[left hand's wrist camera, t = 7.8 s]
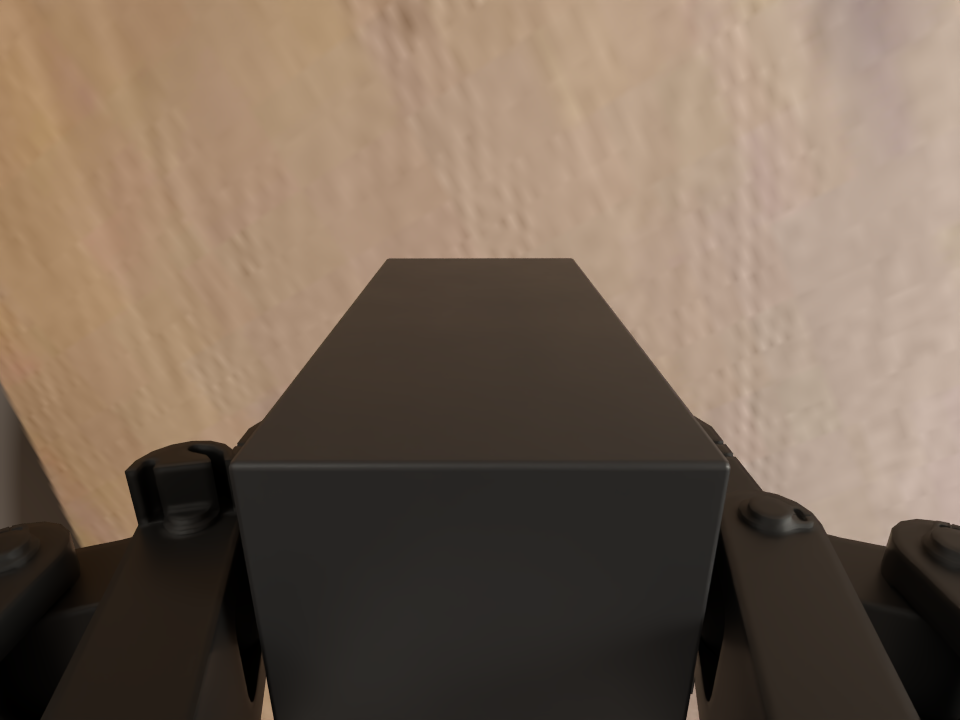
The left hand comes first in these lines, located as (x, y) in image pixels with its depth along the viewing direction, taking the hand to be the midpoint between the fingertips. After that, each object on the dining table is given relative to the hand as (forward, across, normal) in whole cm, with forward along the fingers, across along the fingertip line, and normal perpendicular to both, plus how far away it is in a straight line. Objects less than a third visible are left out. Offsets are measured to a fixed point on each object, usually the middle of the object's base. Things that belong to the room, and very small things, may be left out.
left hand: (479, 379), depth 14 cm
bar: (+1, 0, -11) cm, 11 cm away
